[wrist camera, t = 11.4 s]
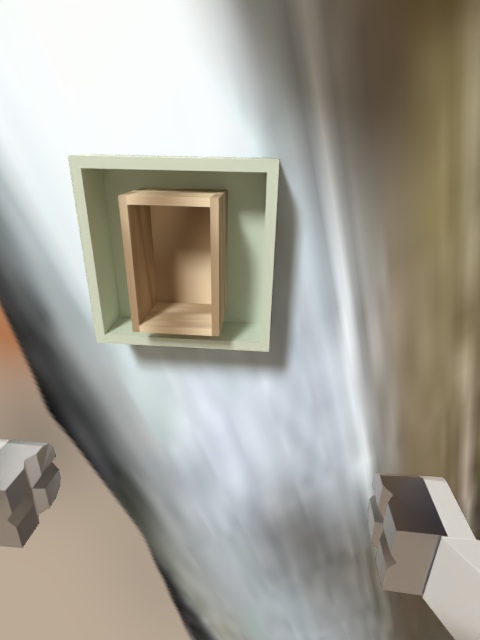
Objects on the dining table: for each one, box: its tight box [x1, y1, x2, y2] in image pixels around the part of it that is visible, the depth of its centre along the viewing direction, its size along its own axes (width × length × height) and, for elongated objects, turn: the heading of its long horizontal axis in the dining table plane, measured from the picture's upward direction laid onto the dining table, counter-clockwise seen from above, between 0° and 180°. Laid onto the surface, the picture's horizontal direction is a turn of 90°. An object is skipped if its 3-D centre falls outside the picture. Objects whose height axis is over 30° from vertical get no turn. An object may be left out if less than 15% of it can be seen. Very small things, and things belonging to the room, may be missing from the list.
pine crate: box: [118, 188, 228, 336], centre depth 27 cm, size 6×9×5 cm, turn 179°
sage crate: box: [68, 155, 279, 352], centre depth 28 cm, size 13×13×4 cm
